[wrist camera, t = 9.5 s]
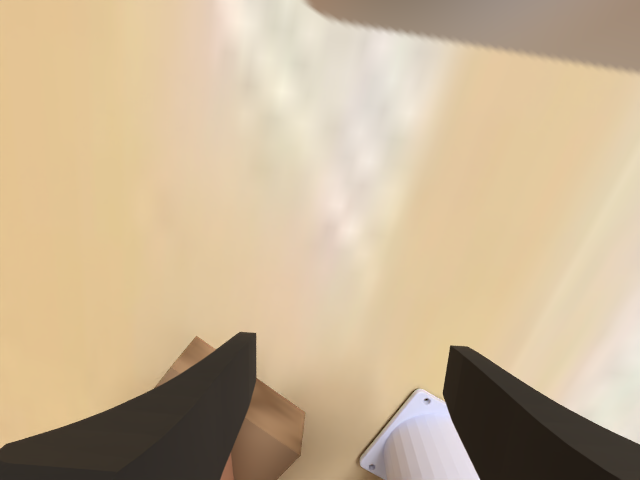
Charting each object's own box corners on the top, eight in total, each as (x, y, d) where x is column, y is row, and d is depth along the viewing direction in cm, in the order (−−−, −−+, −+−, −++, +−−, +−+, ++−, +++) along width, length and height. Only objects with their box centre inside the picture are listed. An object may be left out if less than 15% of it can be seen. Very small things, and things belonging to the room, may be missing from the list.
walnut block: (305, 408, 23) (300, 455, 19) (232, 485, 25) (214, 542, 21) (199, 332, 22) (170, 367, 18) (131, 419, 24) (93, 466, 20)
